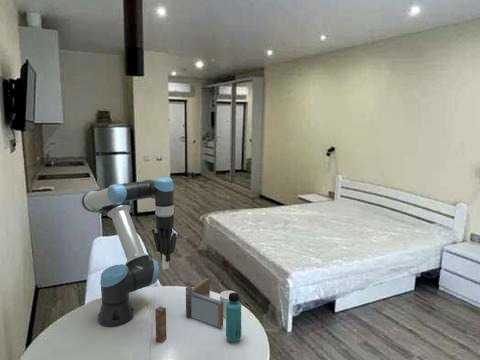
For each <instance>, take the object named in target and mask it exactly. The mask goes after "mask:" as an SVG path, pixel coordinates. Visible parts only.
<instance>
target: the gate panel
mask: <svg viewBox="0 0 480 360" xmlns="http://www.w3.org/2000/svg"><path fill="white" fill-rule="evenodd" d="M191 316H192V318H194V319H197V320H199V321H202V322H203V323H204V322H205V323H208V324H211V325H213V326H216V327H217V328H220V329H221V328H222V327H223V326H224V317H223V301H220V299H219V300H218V299H215V298H212V297H210V298H209V297H206V296H203V295H200V294H197V293H194V292H192V294H191Z"/></svg>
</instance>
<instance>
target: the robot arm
mask: <svg viewBox="0 0 480 360" xmlns="http://www.w3.org/2000/svg"><path fill="white" fill-rule="evenodd" d="M174 190H175V188H174V180H173V179H172V178H171V177H158V178H155V179H154V180H153V179H143V180H140V181H134V182H126V183H125V182H124V183H123V182H122V183H114V184H111V185H109V186H108V187H107V188H106V187H105V188H100V189H98V188H97V189H93V190H89V191H87V192H86V193H84V194H83V195H82V197H81V201H80V203H81V205H82V207H83V209H84V210H85V211H86V212H89V213H105V214H106V216H107V217H109V218H111V219H112V221H113V222H112V223H113V225H114V228H115V231H116V233H117V236H118V239H119V241H120V244H121V247H122V249H123V252H124V255H125V256H124V257H125V258H126V260H127V261H126V263H124V264H114V265H112V266H109V267H107V268H106V269H104V270H103V271H102V273H101V274H100V292H101V305H100V309H99V310H100V311H99V313H98V323H99V324H100V325H101V326H102V327H107V328H108V327H109V328H110V327H111V328H113V327H119V326H123V325H125V324H127V323H129V322H130V321H131V320H132V319H133V318H134V316H135V313H134V311H135V310H134V308H133V306H132V303H131V300H130V293H132V292H135V291H138V290H141V289H144V288H146V287H150V286H152V285H154V284H156V283H157V282H158V280H159V278H160V267H159V263H158V262H157V260H156V259H153V258H150V255H149V254H147V253H145V250H144V248H143V246H142V243H141V240H140V238H139V235H138V232H137V230H136V227H135V225H134V222H133V220H132V217H131V215H130V210H131V206H132V203H133V201H138V200H144V199H153V200H154V205H155V207H154V208H155V209H154V210H155V225H156V226H155V228H153V229H151V230H150V231H151V233H152V235H153V239H154V245H155V248H156V249H155V250H156V252H158V253H159V254H160V261H161V265H162V270H168V269H170V262H171V255H172V254H173V253H174V252H175V249H176V245H177V239H178V236H179V234H180V232H178V231H175V228H174V227H175V226H174V223H175V218H174V217H175V216H174V214H175V211H174V210H175V208H174V206H175V205H174V200H175V199H174V197H175V196H174Z"/></svg>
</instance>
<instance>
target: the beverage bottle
mask: <svg viewBox="0 0 480 360" xmlns="http://www.w3.org/2000/svg"><path fill="white" fill-rule="evenodd" d="M239 300H240V298H239V293H237V292H236V293H230V294H229V302H228V303H227V304H226V318H225V337H226V339H227V340H229V341H231V342H236V341H237V342H238V341H239V340H240V339H241V338H242V303H241V302H240V301H239Z"/></svg>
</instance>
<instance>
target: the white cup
mask: <svg viewBox="0 0 480 360" xmlns="http://www.w3.org/2000/svg"><path fill="white" fill-rule="evenodd" d="M230 293H237V292H236V291H233V290H224V291H221V292H220V293H219V301H223V319H224V318H225V319H226V304H227V303H228V302H229V294H230Z"/></svg>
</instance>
